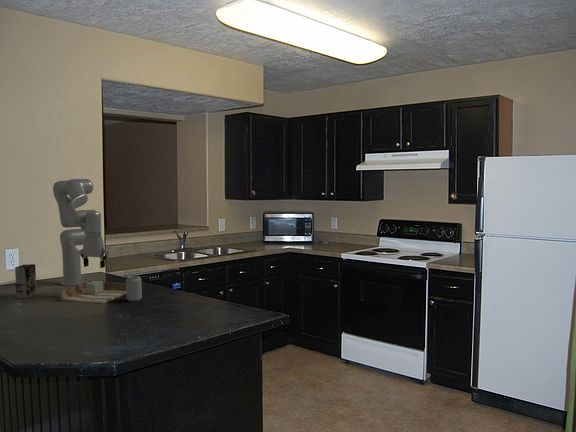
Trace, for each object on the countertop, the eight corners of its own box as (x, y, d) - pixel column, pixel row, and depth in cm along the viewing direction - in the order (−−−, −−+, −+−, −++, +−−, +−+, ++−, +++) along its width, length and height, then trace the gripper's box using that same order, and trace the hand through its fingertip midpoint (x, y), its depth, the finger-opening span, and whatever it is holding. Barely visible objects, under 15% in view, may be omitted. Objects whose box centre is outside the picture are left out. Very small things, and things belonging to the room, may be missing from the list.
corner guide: (89, 290, 278) (89, 281, 278) (129, 292, 273) (129, 283, 272) (60, 301, 255) (60, 291, 254) (103, 303, 249) (102, 293, 249)
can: (144, 298, 260) (143, 274, 259) (138, 301, 252) (137, 277, 252) (130, 297, 261) (129, 274, 260) (123, 301, 253) (123, 277, 252)
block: (86, 293, 266) (85, 283, 265) (96, 289, 274) (96, 280, 274) (95, 293, 264) (94, 284, 264) (105, 290, 273) (104, 280, 273)
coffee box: (28, 298, 262) (26, 267, 261) (15, 298, 262) (14, 267, 261) (37, 293, 271) (35, 263, 270) (25, 293, 271) (23, 264, 270)
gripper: (74, 235, 265) (75, 267, 267) (104, 236, 261) (104, 269, 263) (83, 233, 273) (84, 264, 274) (112, 234, 269) (112, 266, 271)
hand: (94, 267), depth 269 cm, fingers open, 9 cm apart
